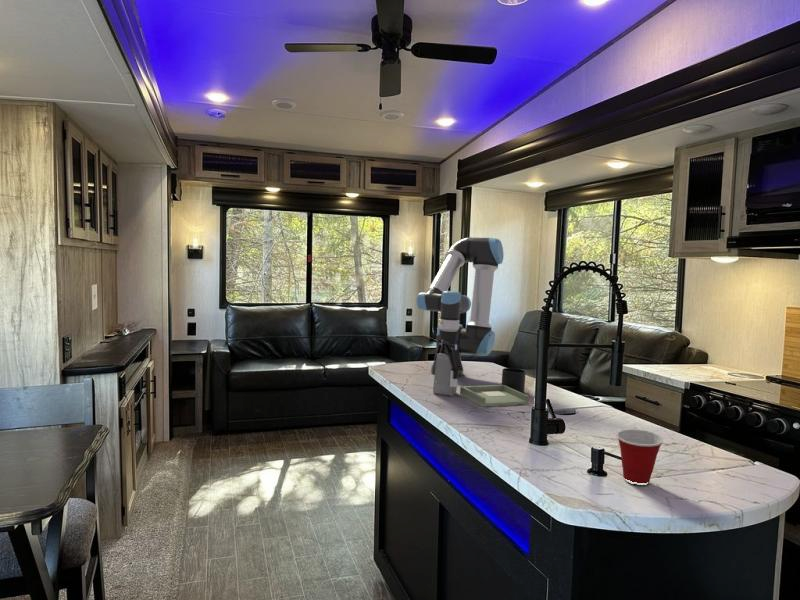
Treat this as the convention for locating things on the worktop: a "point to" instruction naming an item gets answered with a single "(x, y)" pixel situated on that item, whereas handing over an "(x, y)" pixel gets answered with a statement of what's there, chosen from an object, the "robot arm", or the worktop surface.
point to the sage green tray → (493, 395)
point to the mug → (514, 378)
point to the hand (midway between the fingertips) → (446, 382)
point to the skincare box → (443, 376)
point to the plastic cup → (638, 453)
